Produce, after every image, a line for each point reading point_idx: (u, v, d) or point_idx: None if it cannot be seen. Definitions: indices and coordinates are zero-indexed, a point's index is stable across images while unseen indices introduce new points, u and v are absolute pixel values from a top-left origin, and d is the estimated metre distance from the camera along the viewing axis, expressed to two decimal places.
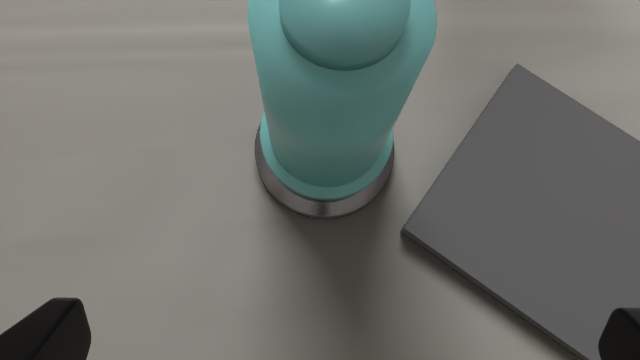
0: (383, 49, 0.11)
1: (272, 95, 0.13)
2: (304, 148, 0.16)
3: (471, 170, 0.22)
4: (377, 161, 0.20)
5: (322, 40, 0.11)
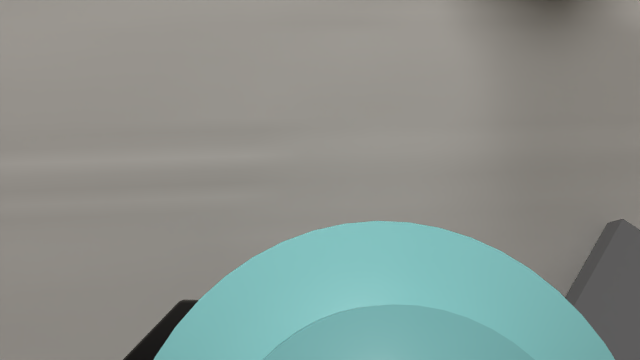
0: None
1: None
2: None
3: None
4: None
5: None
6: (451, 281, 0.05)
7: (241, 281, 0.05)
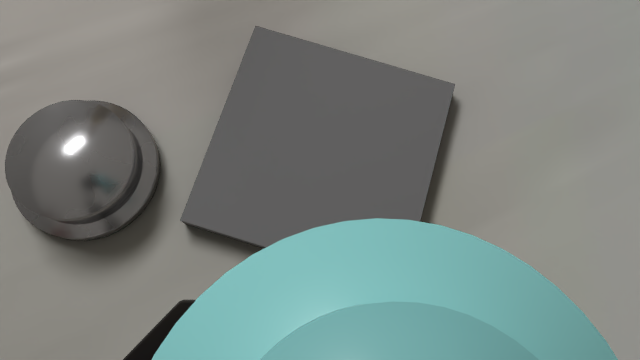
0: None
1: None
2: None
3: (234, 142, 0.22)
4: None
5: None
6: (452, 279, 0.05)
7: (241, 278, 0.05)
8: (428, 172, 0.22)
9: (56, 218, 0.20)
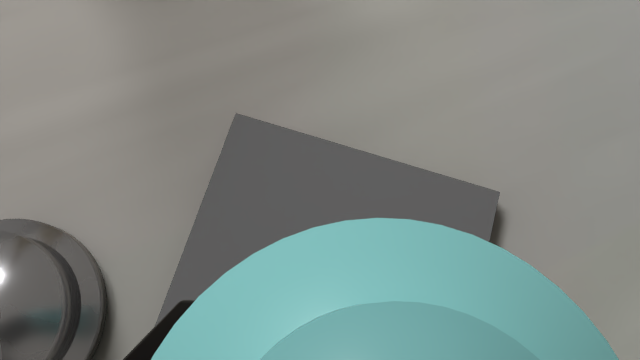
0: None
1: None
2: None
3: (205, 278, 0.16)
4: None
5: None
6: (452, 278, 0.05)
7: (241, 278, 0.05)
8: None
9: None
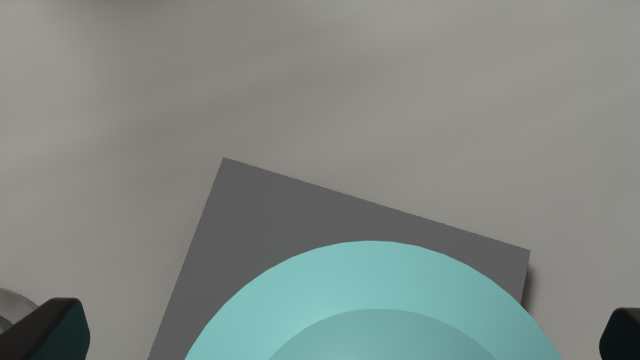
0: None
1: None
2: None
3: None
4: None
5: None
6: (427, 289, 0.06)
7: (257, 290, 0.06)
8: None
9: None
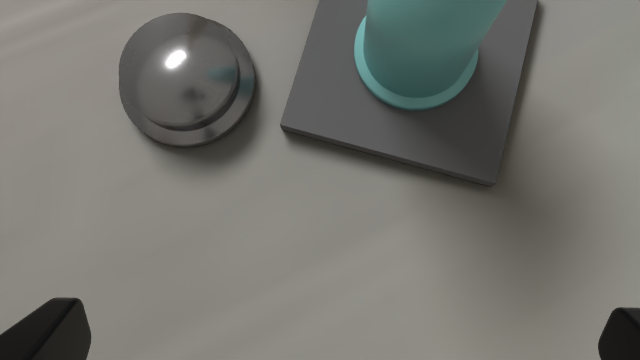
0: None
1: None
2: (412, 51, 0.18)
3: (326, 50, 0.23)
4: (464, 72, 0.22)
5: None
6: None
7: None
8: (517, 72, 0.23)
9: (169, 122, 0.21)
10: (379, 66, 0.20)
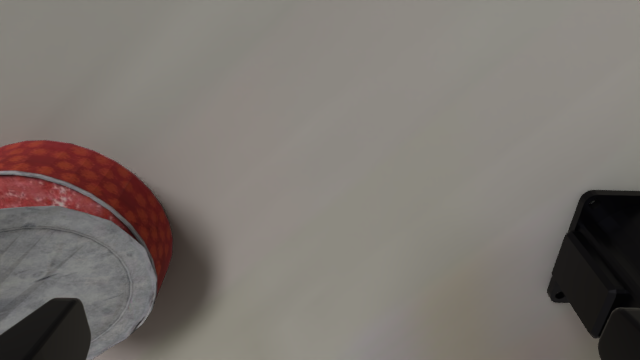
0: None
1: None
2: None
3: None
4: None
5: None
6: None
7: None
8: None
9: None
10: None
